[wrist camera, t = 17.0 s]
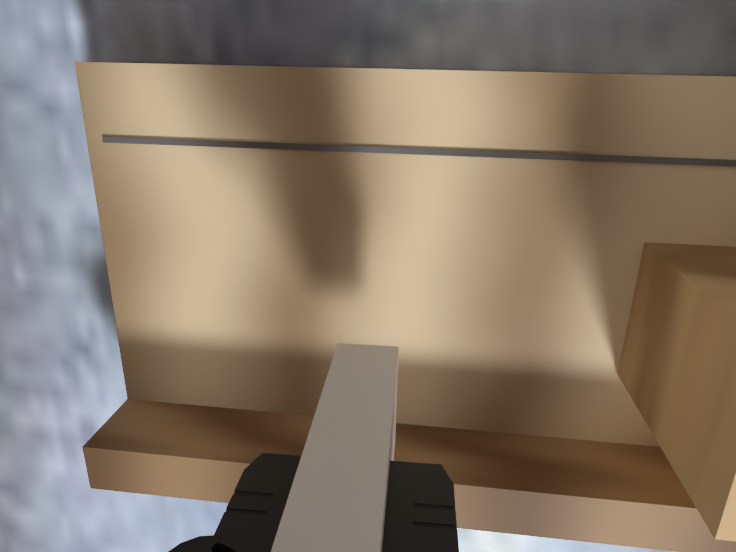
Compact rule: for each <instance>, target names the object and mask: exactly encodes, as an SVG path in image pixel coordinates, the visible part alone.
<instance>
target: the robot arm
mask: <svg viewBox="0 0 736 552" xmlns="http://www.w3.org/2000/svg"><path fill="white" fill-rule="evenodd" d="M398 352H399V347H397V346H379V345H361V344H343V343H338V344H337V347H336V350H335V353H334V356H333V359H332V362H331V365H330V369H329V372H328V375H327V378H326V381H325V384H324V387H323V390H322V393H321V397H320V400H319V403H318V406H317V409H316V412H315V415H314V418H313V422H312V425H311V428H310V431H309V434H308V437H307V440H306V443H305V446H304V450H303V453H302V456H297V455H284V454H270V453H262V454H260V455H259V456H258V457H257V458H256V459H255V460H254V461H253V462H252V463H251V464H250V465H249V466H248V467H246V468H245V469H244V471H243V473H242V475H241V477H240V480H239V482H238V484H237V486H236V488H235V491H234V495H232V497H231V499H230V502H229V504H228V506H227V510H226V512H224V515H223V517H222V519H221V521H220V523H219V526H218V528H217V530H216V532H215V534H214V536H200V537H197V538H194V539H191V540H189V541H186V542H183V543H180V544H179V545H177V546H176V547H175V548H173V549H172V550H170V551H169V552H459V550H458V536H457V522H456V511H455V495H454V484H453V482H452V480H451V479H450V477H449V476H448V474H447V472H446V471H445V469H444V468H443V466H442V464H430V463H416V462H403V461H394V451H395V436H396V408H397V380H398Z"/></svg>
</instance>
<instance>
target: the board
mask: <svg viewBox="0 0 736 552" xmlns="http://www.w3.org/2000/svg"><path fill="white" fill-rule="evenodd" d="M75 67H76V73H77V80H78V86H79V93H80V99H81V105H82V112H83V118H84V124H85V131H86V137H87V143H88V150H89V156H90V162H91V169H92V175H93V181H94V188H95V194H96V201H97V207H98V213H99V220H100V226H101V232H102V239H103V245H104V251H105V258H106V264H107V270H108V277H109V283H110V289H111V296H112V302H113V308H114V315H115V321H116V328H117V334H118V340H119V347H120V353H121V359H122V366H123V372H124V378H125V385H126V391H127V397H128V399H127V400H126V402H125V403H124V404H123V405H122V406H121V407H120V408H119V409H118V410H117V411H116V412H115V413H114V414H113V415H112V416H111V417H110V418H109V420H108V421H107V422H106V423H105V424H104V425H103V426H102V427H101V428H100V429H99V430H98V431H97V432H96V433H95V434H94V435H93V436H92V438H91V439H90V440H89V441H88V442H87V443H86V444H85V445H84V446H83V451H84V457H85V462H86V467H87V472H88V477H89V482H90V487H91V488H95V489H105V490H114V491H123V492H132V493H142V494H151V495H160V496H169V497H178V498H188V499H197V500H206V501H215V502H225V503H229V502H230V499H231V497H232V495H234V491H235V488H236V486H237V484H238V482H239V480H240V477H241V475H242V473H243V471H244V469H245V468H246V467H248V466H249V465H250V464H251V463H252V462H253V461H254V460H255V459H256V458H257V457H258V456H259V455H260V454H262V453H270V454H284V455H297V456H302V453H303V450H304V446H305V443H306V440H307V437H308V434H309V431H310V428H311V425H312V422H313V418H314V415H315V412H316V409H317V406H318V403H319V400H320V397H321V393H322V390H323V387H324V384H325V381H326V378H327V375H328V372H329V369H330V365H331V362H332V359H333V356H334V353H335V350H336V347H337V344H338V343H343V344H361V345H379V346H397V347H399V352H398V380H397V408H396V436H395V451H394V461H403V462H416V463H430V464H442V466H443V468H444V469H445V471H446V472H447V474H448V476H449V477H450V479H451V480H452V482H453V484H454V495H455V511H456V522H457V528H465V529H474V530H483V531H493V532H502V533H511V534H520V535H530V536H539V537H548V538H557V539H566V540H576V541H585V542H594V543H603V544H613V545H622V546H631V547H640V548H650V549H659V550H668V551H677V552H736V541H726V540H716V539H714V537H713V535H712V534H711V532H710V530H709V529H708V527H707V525H706V524H705V522H704V520H703V518H702V517H701V515H700V513H699V512H698V510H697V508H696V507H695V505H694V503H693V502H692V500H691V498H690V496H689V495H688V493H687V491H686V490H685V488H684V486H683V485H682V483H681V481H680V479H679V478H678V476H677V474H676V473H675V471H674V469H673V468H672V466H671V464H670V463H669V461H668V459H667V457H666V456H665V454H664V452H663V451H662V449H661V447H660V446H659V444H658V442H657V441H656V439H655V437H654V435H653V434H652V432H651V430H650V429H649V427H648V425H647V424H646V422H645V420H644V419H643V417H642V415H641V413H640V412H639V410H638V408H637V407H636V405H635V403H634V402H633V400H632V398H631V396H630V395H629V393H628V391H627V390H626V388H625V386H624V385H623V383H622V381H621V380H620V378H619V376H618V369H619V364H620V359H621V355H622V350H623V345H624V340H625V335H626V330H627V325H628V320H629V315H630V311H631V306H632V301H633V296H634V291H635V286H636V281H637V276H638V271H639V267H640V262H641V257H642V252H643V247H644V242H649V243H669V244H690V245H710V246H730V247H736V76H693V75H648V74H604V73H559V72H514V71H469V70H424V69H380V68H335V67H290V66H245V65H201V64H156V63H111V62H75Z"/></svg>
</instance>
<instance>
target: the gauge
mask: <svg viewBox="0 0 736 552" xmlns="http://www.w3.org/2000/svg"><path fill="white" fill-rule="evenodd" d="M618 376H619V378H620V380H621V381H622V383H623V385H624V386H625V388H626V390H627V391H628V393H629V395H630V396H631V398H632V400H633V402H634V403H635V405H636V407H637V408H638V410H639V412H640V413H641V415H642V417H643V419H644V420H645V422H646V424H647V425H648V427H649V429H650V430H651V432H652V434H653V435H654V437H655V439H656V441H657V442H658V444H659V446H660V447H661V449H662V451H663V452H664V454H665V456H666V457H667V459H668V461H669V463H670V464H671V466H672V468H673V469H674V471H675V473H676V474H677V476H678V478H679V479H680V481H681V483H682V485H683V486H684V488H685V490H686V491H687V493H688V495H689V496H690V498H691V500H692V502H693V503H694V505H695V507H696V508H697V510H698V512H699V513H700V515H701V517H702V518H703V520H704V522H705V524H706V525H707V527H708V529H709V530H710V532H711V534H712V535H713V537H714V539H716V540H726V541H736V247H730V246H710V245H690V244H669V243H649V242H644V247H643V252H642V257H641V262H640V267H639V271H638V276H637V281H636V286H635V291H634V296H633V301H632V306H631V311H630V315H629V320H628V325H627V330H626V335H625V340H624V345H623V350H622V355H621V359H620V364H619V369H618Z"/></svg>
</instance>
